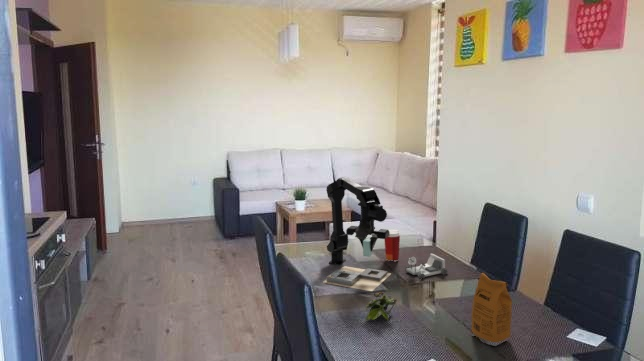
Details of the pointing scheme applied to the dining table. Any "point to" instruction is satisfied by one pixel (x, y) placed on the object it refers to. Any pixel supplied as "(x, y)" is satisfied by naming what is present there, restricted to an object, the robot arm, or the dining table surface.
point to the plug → (367, 248)
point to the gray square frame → (367, 275)
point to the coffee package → (491, 310)
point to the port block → (348, 280)
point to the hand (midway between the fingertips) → (368, 250)
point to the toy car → (427, 266)
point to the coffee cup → (392, 245)
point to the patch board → (361, 280)
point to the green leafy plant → (379, 306)
